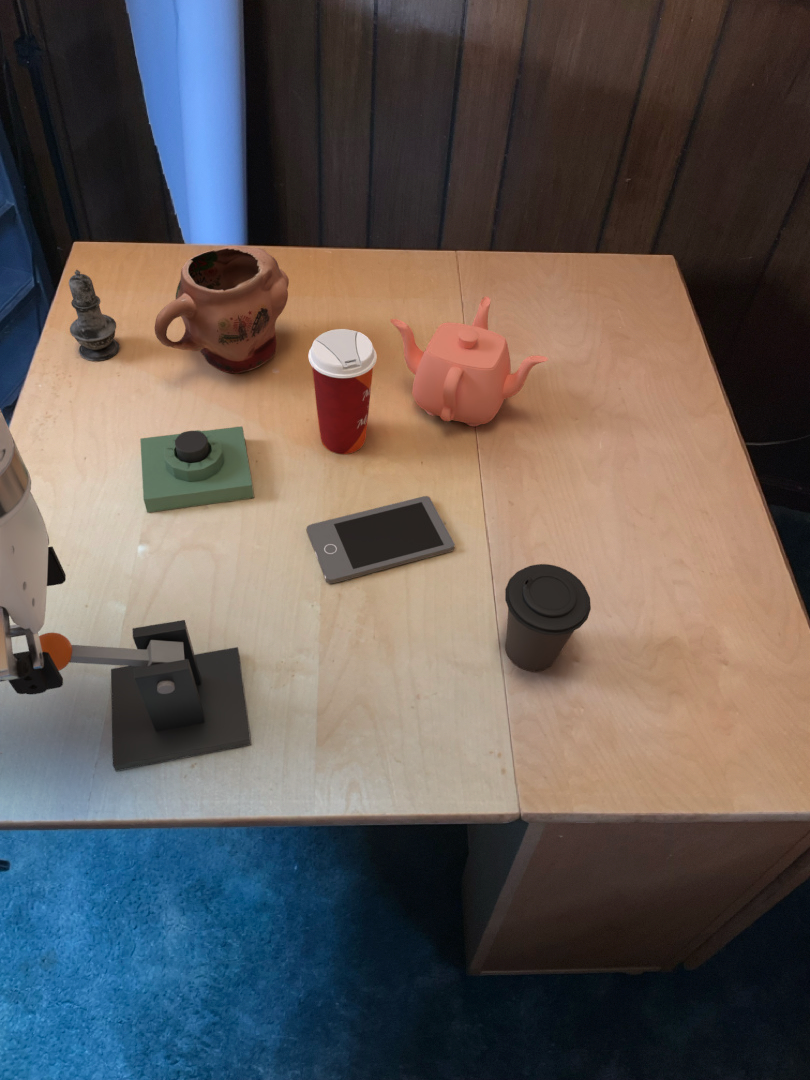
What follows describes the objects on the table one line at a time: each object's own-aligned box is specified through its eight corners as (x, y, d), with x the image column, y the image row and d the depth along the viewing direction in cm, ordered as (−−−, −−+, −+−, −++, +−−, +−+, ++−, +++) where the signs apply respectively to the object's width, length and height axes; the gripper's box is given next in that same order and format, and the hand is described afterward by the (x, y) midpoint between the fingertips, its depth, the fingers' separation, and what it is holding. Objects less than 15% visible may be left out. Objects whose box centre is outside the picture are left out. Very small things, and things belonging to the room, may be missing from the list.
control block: (147, 512, 91) (140, 488, 88) (143, 451, 97) (137, 426, 94) (254, 498, 93) (250, 473, 90) (244, 439, 99) (240, 414, 96)
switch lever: (24, 679, 64) (31, 657, 62) (26, 645, 66) (33, 622, 64) (176, 686, 70) (187, 666, 68) (173, 654, 72) (184, 634, 70)
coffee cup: (486, 616, 85) (500, 557, 77) (562, 614, 85) (583, 556, 78) (497, 685, 79) (514, 629, 72) (578, 682, 80) (602, 626, 72)
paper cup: (382, 452, 99) (387, 360, 89) (323, 466, 97) (320, 374, 86) (361, 411, 104) (362, 319, 93) (304, 424, 102) (298, 332, 91)
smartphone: (428, 498, 95) (429, 494, 94) (456, 549, 90) (456, 545, 89) (305, 528, 91) (305, 524, 90) (327, 584, 86) (327, 580, 85)
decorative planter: (205, 416, 102) (189, 323, 91) (142, 374, 106) (119, 280, 95) (314, 344, 112) (310, 253, 101) (251, 308, 117) (242, 218, 106)
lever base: (115, 771, 72) (85, 714, 63) (113, 674, 78) (85, 611, 69) (251, 744, 74) (239, 686, 66) (238, 653, 80) (226, 589, 72)
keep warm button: (178, 465, 91) (175, 454, 90) (176, 443, 93) (173, 432, 92) (210, 461, 92) (208, 450, 90) (208, 439, 94) (205, 428, 92)
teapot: (386, 384, 108) (389, 314, 99) (478, 358, 112) (488, 289, 104) (437, 454, 100) (445, 384, 91) (534, 423, 104) (550, 354, 96)
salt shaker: (109, 330, 112) (88, 251, 102) (129, 352, 109) (109, 273, 100) (69, 345, 109) (43, 266, 100) (88, 368, 106) (64, 288, 97)
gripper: (-89, 394, 54) (0, 554, 67) (-133, 603, 43) (-18, 744, 56) (30, 381, 55) (94, 540, 68) (16, 580, 44) (94, 723, 58)
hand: (43, 632), depth 62 cm, fingers open, 9 cm apart
